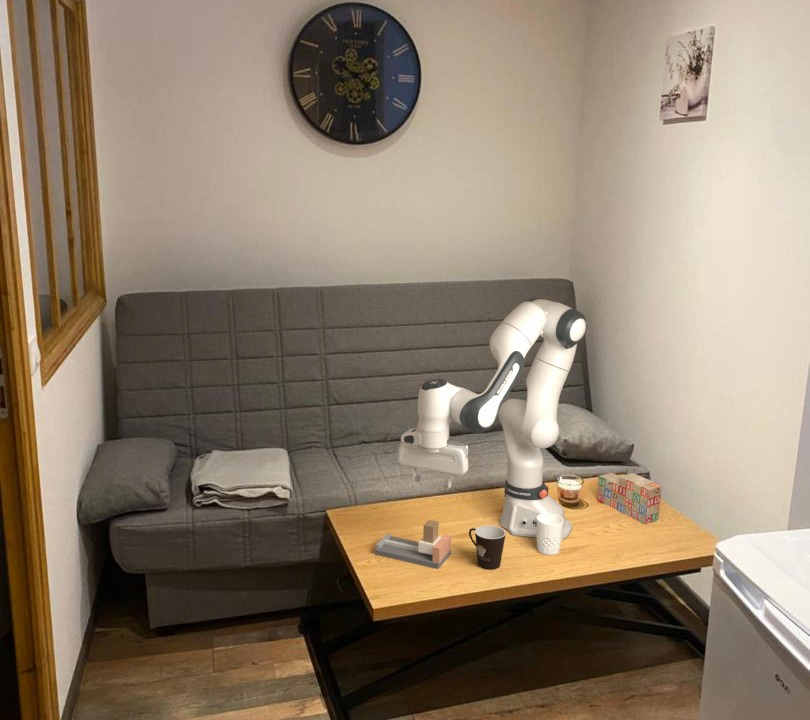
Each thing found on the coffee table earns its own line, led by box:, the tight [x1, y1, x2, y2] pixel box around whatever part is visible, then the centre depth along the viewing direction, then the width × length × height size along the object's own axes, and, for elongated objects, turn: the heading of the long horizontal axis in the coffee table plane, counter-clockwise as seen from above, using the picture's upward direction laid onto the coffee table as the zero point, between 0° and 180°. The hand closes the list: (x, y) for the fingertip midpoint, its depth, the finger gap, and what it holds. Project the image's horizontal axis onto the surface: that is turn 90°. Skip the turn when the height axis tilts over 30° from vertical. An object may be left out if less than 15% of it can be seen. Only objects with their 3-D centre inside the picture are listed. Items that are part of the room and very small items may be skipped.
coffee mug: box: [468, 524, 507, 571], centre depth 232 cm, size 12×9×10 cm
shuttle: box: [418, 519, 443, 555], centre depth 234 cm, size 5×6×8 cm
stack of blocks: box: [596, 472, 663, 525], centre depth 268 cm, size 21×6×12 cm, turn 32°
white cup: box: [536, 513, 564, 556], centre depth 240 cm, size 8×8×10 cm
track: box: [373, 533, 452, 570], centre depth 237 cm, size 20×10×6 cm, turn 66°
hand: (432, 483), depth 230 cm, fingers open, 8 cm apart
